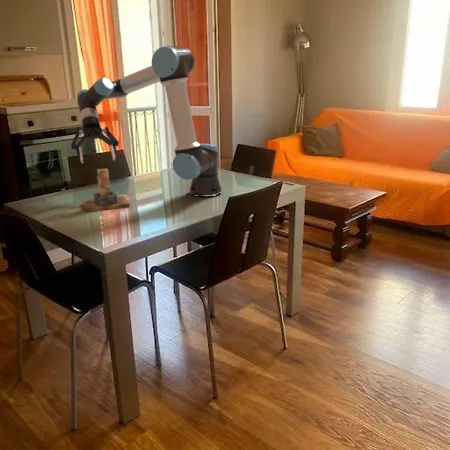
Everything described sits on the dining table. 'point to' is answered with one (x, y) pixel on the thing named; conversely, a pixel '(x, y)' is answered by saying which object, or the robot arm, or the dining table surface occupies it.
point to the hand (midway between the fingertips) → (98, 160)
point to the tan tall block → (103, 182)
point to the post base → (105, 202)
